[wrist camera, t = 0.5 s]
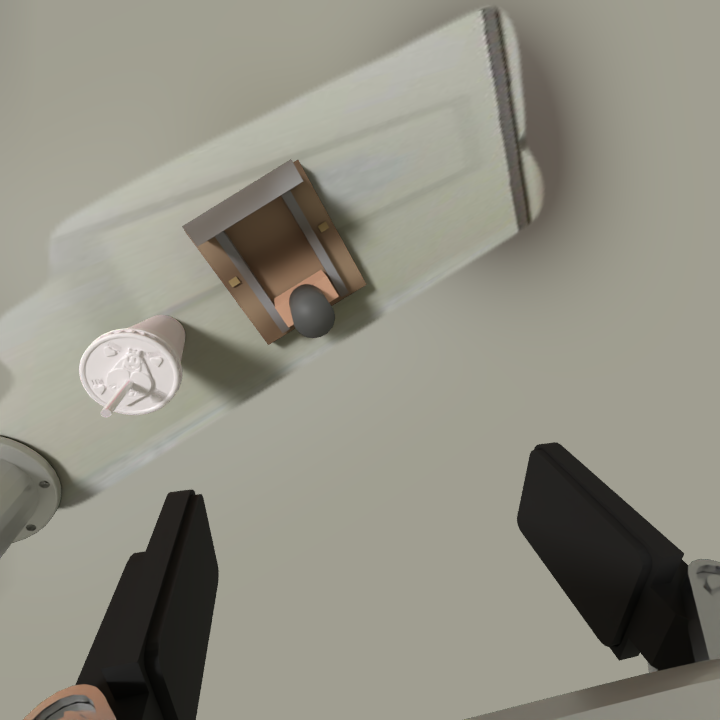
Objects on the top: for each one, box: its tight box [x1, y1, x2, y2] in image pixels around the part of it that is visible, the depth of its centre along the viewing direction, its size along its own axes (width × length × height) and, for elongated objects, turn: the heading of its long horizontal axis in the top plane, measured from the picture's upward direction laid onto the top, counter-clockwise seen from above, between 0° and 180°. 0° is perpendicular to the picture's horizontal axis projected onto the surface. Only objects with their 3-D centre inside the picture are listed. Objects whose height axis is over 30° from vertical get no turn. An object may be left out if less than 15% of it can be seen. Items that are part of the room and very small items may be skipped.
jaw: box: [274, 270, 339, 338], centre depth 31 cm, size 3×5×9 cm, turn 119°
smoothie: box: [79, 315, 186, 417], centre depth 29 cm, size 6×6×14 cm
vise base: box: [182, 160, 367, 345], centre depth 32 cm, size 12×11×6 cm
